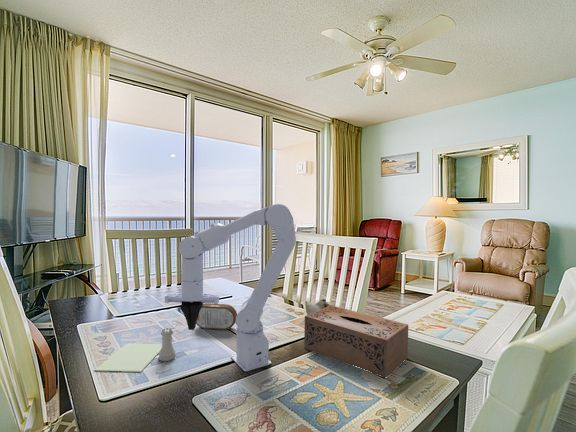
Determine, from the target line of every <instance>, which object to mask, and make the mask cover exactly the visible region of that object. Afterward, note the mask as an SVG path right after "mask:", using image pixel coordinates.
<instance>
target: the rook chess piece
mask: <svg viewBox="0 0 576 432" xmlns="http://www.w3.org/2000/svg"><path fill="white" fill-rule="evenodd" d="M161 330H162V331H161V332H160V335H161V337H162V338H161V341H162V343H161V344H162V348H161V350H160V352H159V353H158V359H159V360H160V361H161V362H169V361H172V360H173V359H175V358H176V350H175V348H174V347H173V342H172V341H173V340H172V339H173V337H172V335H173V334H174V331H173V329H172V328H171V327H166V328H163V329H161Z"/></svg>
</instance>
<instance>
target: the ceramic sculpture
mask: <svg viewBox="0 0 576 432" xmlns="http://www.w3.org/2000/svg"><path fill="white" fill-rule="evenodd" d="M304 303H305V313H306V314H307V315H309V314H311V313H314V312H316V311H318V310H321V309H323V308H326V307H328V306H331V305H332V306H336V305H335V304H334V303H332V302H329V301H327V300H326V299H324V298H322V299H320V300H318V301H317V303H313V302H311V301H307V300H305V302H304Z"/></svg>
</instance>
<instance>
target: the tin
mask: <svg viewBox="0 0 576 432" xmlns="http://www.w3.org/2000/svg"><path fill="white" fill-rule="evenodd" d="M237 314H238V312H237V310H236V309H235V308H234V307H233V306H232V305H230V304H225V303H218V304H214V303H203V306H202V308H201V310H200V312H199V315H198V318H197V322H196V325H197V327H199V328H201V329H205V330H206V329H207V330H221V331H222V330H224V331H226V330H229V329H231V328H232V327H234V325H236V316H237Z"/></svg>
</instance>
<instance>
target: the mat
mask: <svg viewBox="0 0 576 432" xmlns="http://www.w3.org/2000/svg"><path fill="white" fill-rule="evenodd" d="M161 348H162V343H134V342H132V343H131V342H128V343H125V344H124V345H123V346H122V347H120V349H118V350H117V351H116V352H114V353H113V354H112V355H110V357H108V358H107V359H106V360H105V361H103V362H102V363H101V364H100V365H99V366H98V367H96V368H95V369H94V370H93V371H94V372H108V371H118V372H119V371H121V373H122V372H123V373H142V372H143V371H144V370H145V369H146V368H147V367H148V365H150V363H151V362H152V361H154V359H155V358H156V357H157V356H158V355H159V352H160V350H161ZM157 354H158V355H157ZM118 372H117V373H118ZM119 373H120V372H119Z"/></svg>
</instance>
